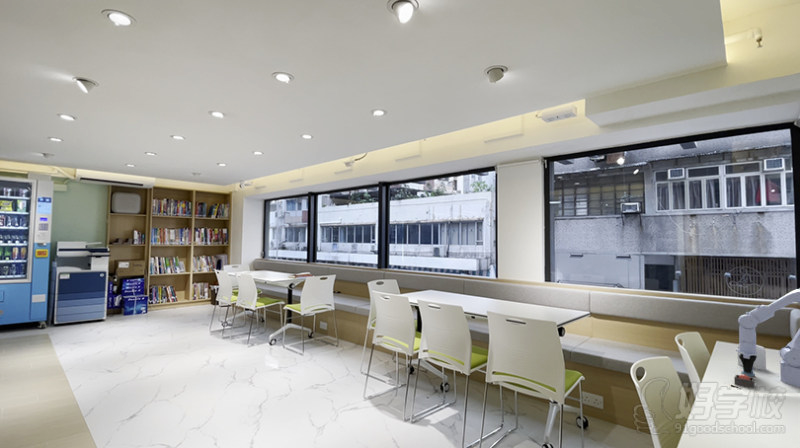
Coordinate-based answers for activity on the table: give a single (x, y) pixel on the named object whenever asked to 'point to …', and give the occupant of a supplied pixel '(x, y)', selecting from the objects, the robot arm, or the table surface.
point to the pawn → (748, 373)
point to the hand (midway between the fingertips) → (748, 371)
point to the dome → (744, 377)
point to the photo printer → (760, 360)
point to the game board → (744, 381)
